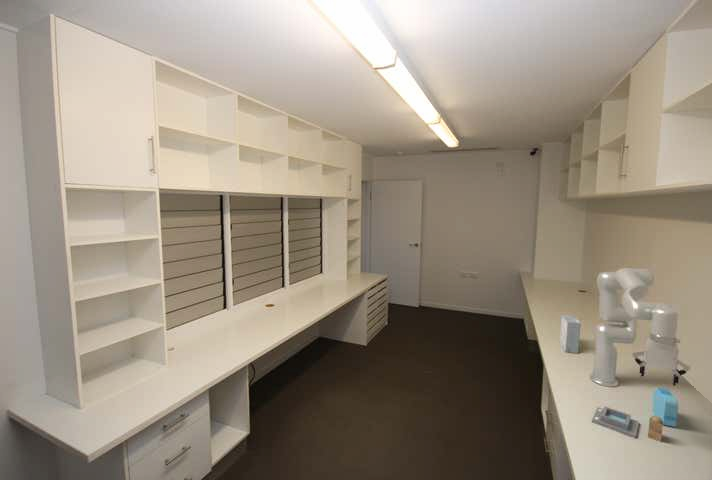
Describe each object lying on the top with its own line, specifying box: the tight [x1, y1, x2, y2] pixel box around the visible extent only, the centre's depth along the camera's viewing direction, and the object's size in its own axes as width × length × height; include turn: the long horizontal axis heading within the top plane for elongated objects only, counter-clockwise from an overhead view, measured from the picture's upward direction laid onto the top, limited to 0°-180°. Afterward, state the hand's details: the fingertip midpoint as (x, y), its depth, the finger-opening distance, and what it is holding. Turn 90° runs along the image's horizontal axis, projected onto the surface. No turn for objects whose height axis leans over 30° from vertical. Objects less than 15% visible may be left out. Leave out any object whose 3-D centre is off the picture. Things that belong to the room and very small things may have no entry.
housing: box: [591, 406, 640, 439], centre depth 150 cm, size 13×15×4 cm
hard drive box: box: [559, 314, 582, 354], centre depth 225 cm, size 16×8×20 cm, turn 161°
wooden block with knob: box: [647, 415, 664, 443], centre depth 141 cm, size 4×4×8 cm
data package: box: [651, 387, 679, 428], centre depth 152 cm, size 12×4×12 cm, turn 156°
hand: (658, 379), depth 139 cm, fingers open, 9 cm apart
